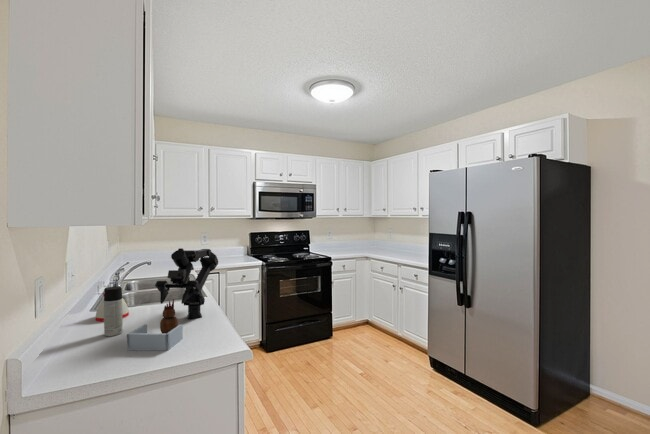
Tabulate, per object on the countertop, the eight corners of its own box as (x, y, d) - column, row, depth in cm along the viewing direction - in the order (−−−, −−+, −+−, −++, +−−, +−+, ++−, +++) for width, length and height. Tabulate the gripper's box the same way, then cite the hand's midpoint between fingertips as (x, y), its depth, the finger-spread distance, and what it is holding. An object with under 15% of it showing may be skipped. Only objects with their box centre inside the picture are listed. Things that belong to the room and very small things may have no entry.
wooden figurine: (180, 332, 139) (179, 297, 139) (174, 337, 133) (173, 301, 133) (164, 332, 139) (164, 298, 139) (157, 337, 133) (157, 301, 133)
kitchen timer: (126, 319, 158) (126, 288, 158) (92, 323, 152) (92, 292, 152) (130, 311, 171) (129, 283, 170) (99, 315, 165) (98, 286, 165)
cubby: (144, 338, 132) (144, 324, 132) (182, 338, 131) (182, 324, 131) (127, 350, 121) (126, 334, 121) (168, 350, 120) (167, 334, 120)
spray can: (120, 329, 143) (119, 285, 143) (124, 333, 138) (123, 287, 138) (102, 333, 138) (101, 287, 138) (106, 338, 133) (105, 290, 133)
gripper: (156, 262, 144) (142, 293, 133) (197, 262, 143) (186, 293, 132) (166, 276, 152) (153, 306, 141) (205, 276, 151) (195, 306, 140)
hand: (171, 303), depth 138 cm, fingers open, 9 cm apart
